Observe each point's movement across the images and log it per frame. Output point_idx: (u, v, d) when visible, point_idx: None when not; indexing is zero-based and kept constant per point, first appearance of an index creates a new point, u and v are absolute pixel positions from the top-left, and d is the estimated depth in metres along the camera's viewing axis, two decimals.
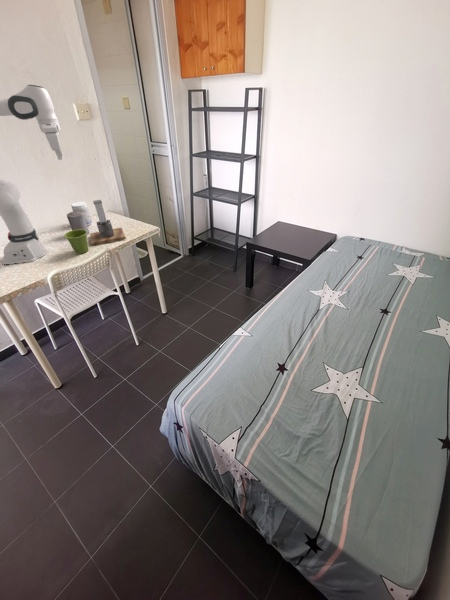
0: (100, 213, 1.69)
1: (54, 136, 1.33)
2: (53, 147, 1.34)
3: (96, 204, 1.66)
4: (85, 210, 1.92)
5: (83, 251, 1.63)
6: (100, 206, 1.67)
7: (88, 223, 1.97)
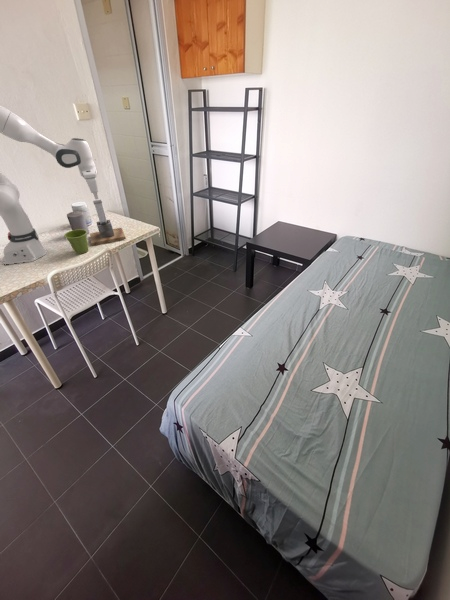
0: (100, 213, 1.69)
1: (94, 181, 1.52)
2: (92, 190, 1.54)
3: (96, 204, 1.66)
4: (85, 210, 1.92)
5: (83, 251, 1.63)
6: (100, 206, 1.67)
7: (88, 223, 1.97)
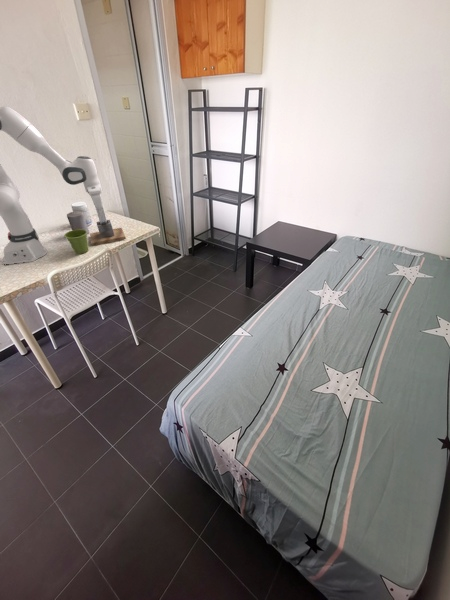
0: (100, 213, 1.69)
1: (98, 197, 1.58)
2: (97, 206, 1.59)
3: None
4: (85, 210, 1.92)
5: (83, 251, 1.63)
6: None
7: (88, 223, 1.97)
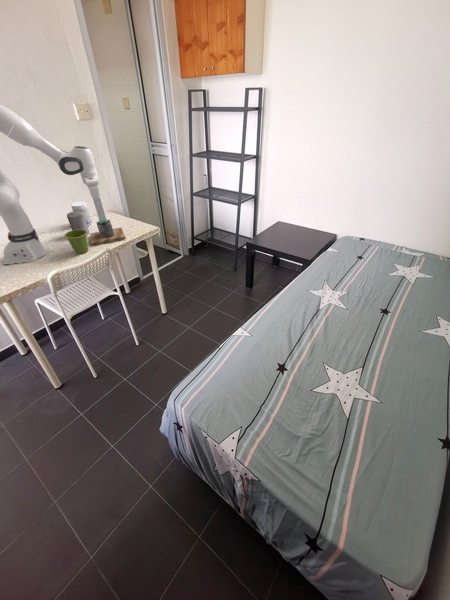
0: (98, 205, 1.66)
1: (96, 188, 1.55)
2: (94, 197, 1.56)
3: None
4: (85, 210, 1.92)
5: (83, 251, 1.63)
6: None
7: (88, 223, 1.97)
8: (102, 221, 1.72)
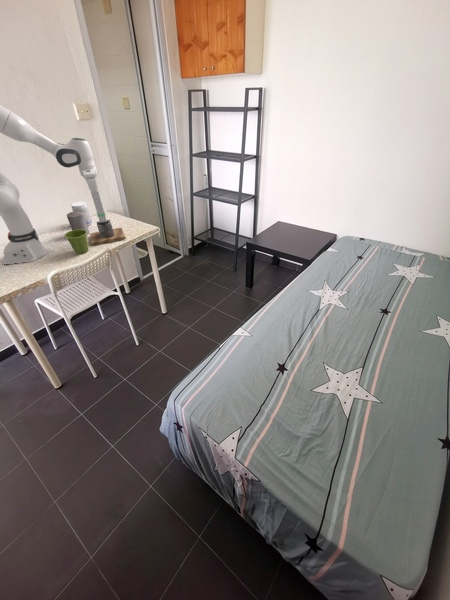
0: (96, 199, 1.64)
1: (93, 181, 1.52)
2: (92, 190, 1.54)
3: None
4: (85, 210, 1.92)
5: (83, 251, 1.63)
6: None
7: (88, 223, 1.97)
8: (101, 215, 1.70)
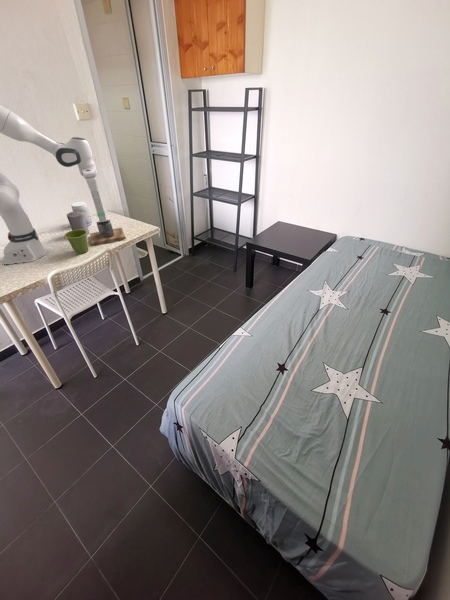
0: None
1: (93, 180, 1.52)
2: (92, 189, 1.54)
3: None
4: (85, 210, 1.92)
5: (83, 251, 1.63)
6: None
7: (88, 223, 1.97)
8: (100, 214, 1.69)
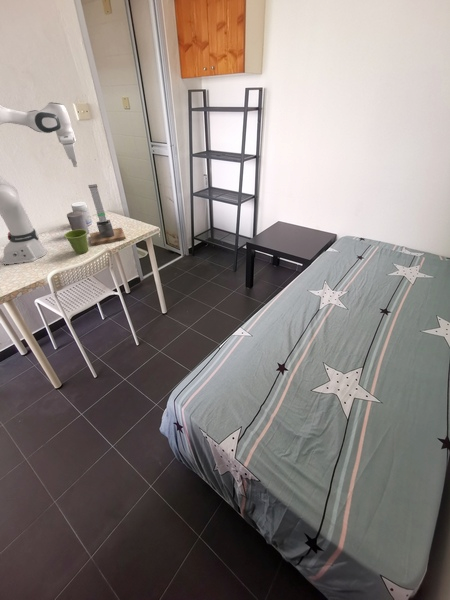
0: (96, 198, 1.64)
1: (71, 147, 1.51)
2: (69, 156, 1.53)
3: (91, 188, 1.60)
4: (85, 210, 1.92)
5: (83, 251, 1.63)
6: (95, 190, 1.62)
7: (88, 223, 1.97)
8: (100, 214, 1.69)
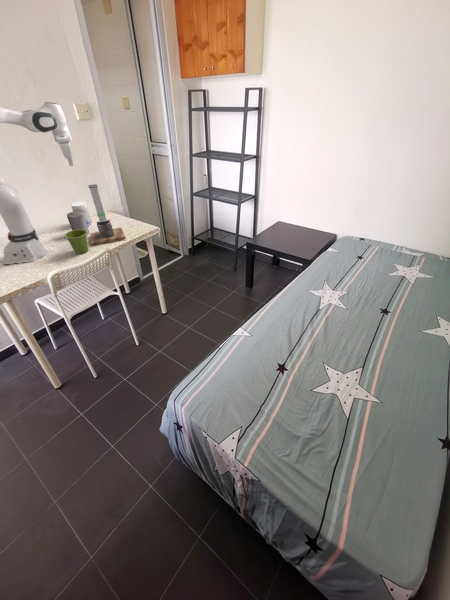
0: (96, 198, 1.64)
1: (67, 146, 1.54)
2: (66, 155, 1.55)
3: (91, 188, 1.60)
4: (85, 210, 1.92)
5: (83, 251, 1.63)
6: (95, 190, 1.62)
7: (88, 223, 1.97)
8: (100, 214, 1.69)
